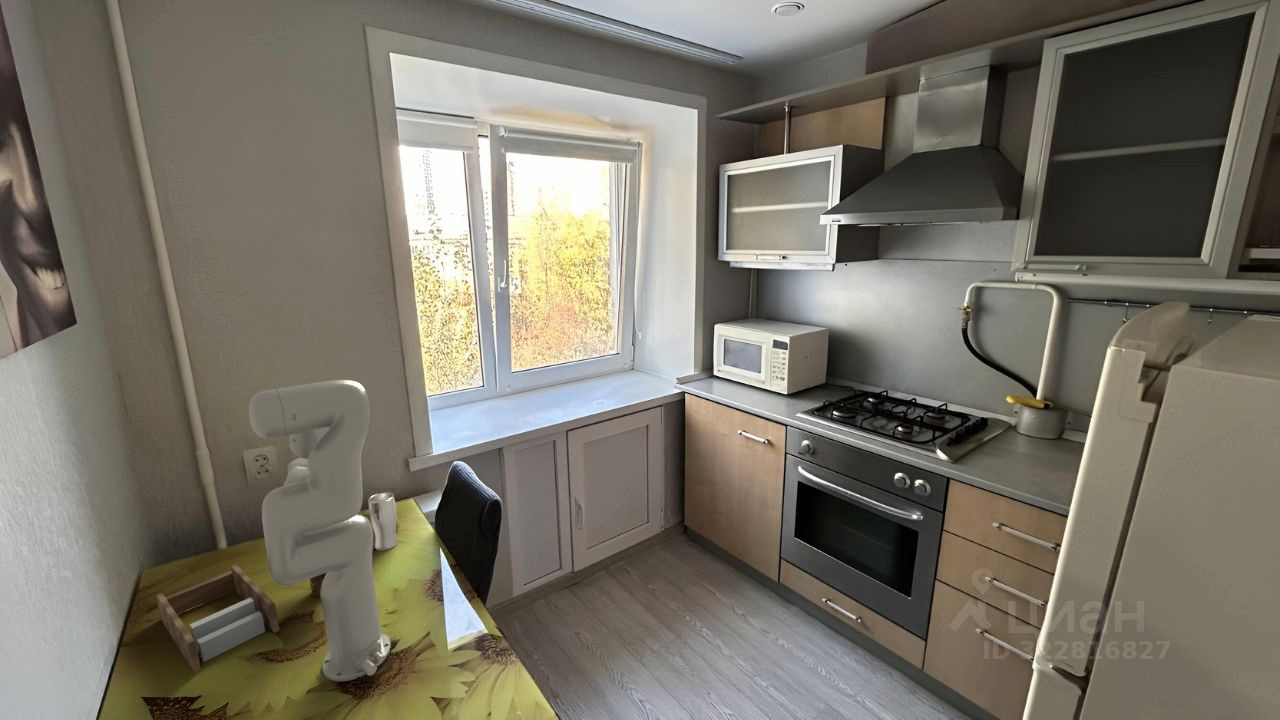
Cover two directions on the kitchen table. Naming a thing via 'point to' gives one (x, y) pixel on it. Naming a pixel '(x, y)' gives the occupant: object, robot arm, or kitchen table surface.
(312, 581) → the utensil holder
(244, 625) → the offcut front
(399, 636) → the kitchen table surface
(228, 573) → the rack
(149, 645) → the kitchen table surface
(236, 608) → the offcut near
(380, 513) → the beer glass
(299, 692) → the kitchen table surface
